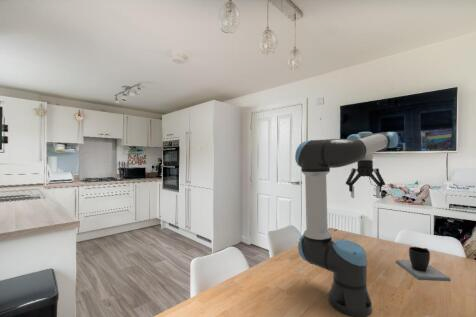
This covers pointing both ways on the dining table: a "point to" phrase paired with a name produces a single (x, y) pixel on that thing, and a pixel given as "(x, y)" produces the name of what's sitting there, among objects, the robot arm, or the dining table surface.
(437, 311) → the dining table surface
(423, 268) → the mug
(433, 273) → the slate board
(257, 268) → the dining table surface
